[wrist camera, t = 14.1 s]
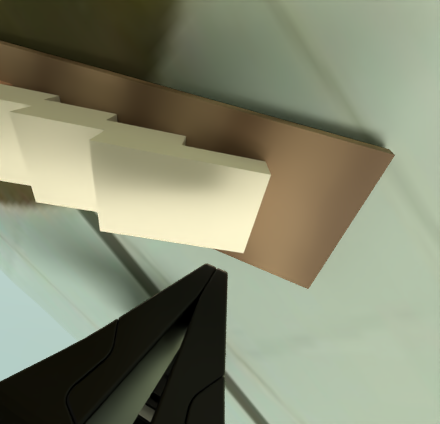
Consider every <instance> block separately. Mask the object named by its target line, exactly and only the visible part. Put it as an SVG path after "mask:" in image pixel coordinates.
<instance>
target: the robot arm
mask: <svg viewBox="0 0 440 424" xmlns="http://www.w3.org/2000/svg"><path fill="white" fill-rule="evenodd" d="M227 279H228V274H227V272H226V271H223V270H221V269H219V268H218V269H216V267H214V266H212V265H210V264H204V265H202V266H201V267H199V268H198V269H196V270H194V271H193V272H191V273H190V274H188V275H186V276H185V277H183V278H182V279H180V280H178V281H177V282H175V283H174V284H172V285H170V286H169V287H167V288H166V289H164V290H162V291H161V292H159V293H158V294H156V295H154V296H153V297H151V298H150V299H148V300H146V301H145V302H143V303H142V304H140V305H138V306H137V307H135V308H134V309H132V310H130V311H129V312H127V313H126V314H124V315H122V316H121V317H119V319H116V320H114V321H112V322H111V323H109V324H108V325H106V326H105V327H103V328H101V329H99V330H98V331H96V332H94V333H93V334H91V335H89V336H88V337H86V338H84V339H82V340H80V341H79V342H77V343H75V344H73V345H71V346H69V347H67V348H65V349H63V350H62V351H60V352H58V353H56V354H54V355H52V356H50V357H48V358H46V359H44V360H42V361H40V362H38V363H36V364H34V365H32V366H30V367H28V368H26V369H24V370H22V371H20V372H18V373H16V374H14V375H12V376H10V377H9V378H7V379H4V380H2V381H0V424H225V377H224V376H225V355H226V316H227Z"/></svg>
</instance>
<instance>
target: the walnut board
mask: <svg viewBox="0 0 440 424" xmlns="http://www.w3.org/2000/svg"><path fill="white" fill-rule="evenodd" d="M0 81H3V82H6V83H9V84H12V86H14V87H19V88H24V89H28V90H33V91H38V92H43V93H48V94H53V95H58V96H59V98H60V103H64V104H69V105H74V106H79V107H84V108H89V109H94V110H99V111H104V112H109V113H114V114H117V122H118V123H123V124H128V125H133V126H138V127H143V128H148V129H153V130H158V131H163V132H168V133H173V134H178V135H183V136H186V142H185V146H189V147H194V148H199V149H204V150H209V151H214V152H219V153H224V154H229V155H234V156H240V157H245V158H250V159H255V160H260V161H265V162H266V164H267V166H268V169H269V171H270V174H271V176H270V179H269V182H268V185H267V187H266V190H265V193H264V196H263V199H262V202H261V205H260V208H259V210H258V213H257V216H256V219H255V222H254V225H253V228H252V230H251V233H250V236H249V239H248V242H247V245H246V248H245V250H244V253H239V252H233V251H226V250H220V249H215V250H217V251H220V252H222V253H224V254H227V255H229V256H231V257H234V258H236V259H239V260H241V261H243V262H246V263H248V264H250V265H253V266H255V267H257V268H260V269H262V270H265V271H267V272H269V273H272V274H274V275H276V276H279V277H281V278H283V279H286V280H288V281H291V282H293V283H295V284H298V285H300V286H302V287H305V288H307V289H309V287H310V286H311V284H312V282H313V281H314V279H315V278H316V276H317V275H318V273H319V272H320V270H321V269H322V267H323V265H324V264H325V262H326V261H327V259H328V258H329V256H330V255H331V253H332V252H333V250H334V248H335V247H336V245H337V244H338V242H339V241H340V239H341V238H342V236H343V235H344V233H345V231H346V230H347V228H348V227H349V225H350V224H351V222H352V221H353V219H354V218H355V216H356V214H357V213H358V211H359V210H360V208H361V207H362V205H363V204H364V202H365V201H366V199H367V197H368V196H369V194H370V193H371V191H372V190H373V188H374V187H375V185H376V184H377V182H378V180H379V179H380V177H381V176H382V174H383V173H384V171H385V170H386V168H387V167H388V165H389V163H390V162H391V160H392V159H393V157H394V156H395V155H394V154H393V153H392V152H391V151H390V150H389V149H386V148H382V147H379V146H375V145H372V144H368V143H365V142H361V141H357V140H354V139H350V138H347V137H343V136H340V135H336V134H332V133H329V132H325V131H322V130H318V129H315V128H311V127H307V126H304V125H300V124H297V123H293V122H290V121H286V120H282V119H279V118H275V117H272V116H268V115H265V114H261V113H257V112H254V111H250V110H247V109H243V108H240V107H236V106H233V105H229V104H225V103H222V102H218V101H215V100H211V99H208V98H204V97H200V96H197V95H193V94H190V93H186V92H183V91H179V90H175V89H172V88H168V87H165V86H161V85H158V84H154V83H150V82H147V81H143V80H140V79H136V78H133V77H129V76H125V75H122V74H118V73H115V72H111V71H108V70H104V69H100V68H97V67H93V66H90V65H86V64H83V63H79V62H75V61H72V60H68V59H65V58H61V57H58V56H54V55H50V54H47V53H43V52H40V51H36V50H33V49H29V48H25V47H22V46H18V45H15V44H11V43H8V42H4V41H0Z"/></svg>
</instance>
